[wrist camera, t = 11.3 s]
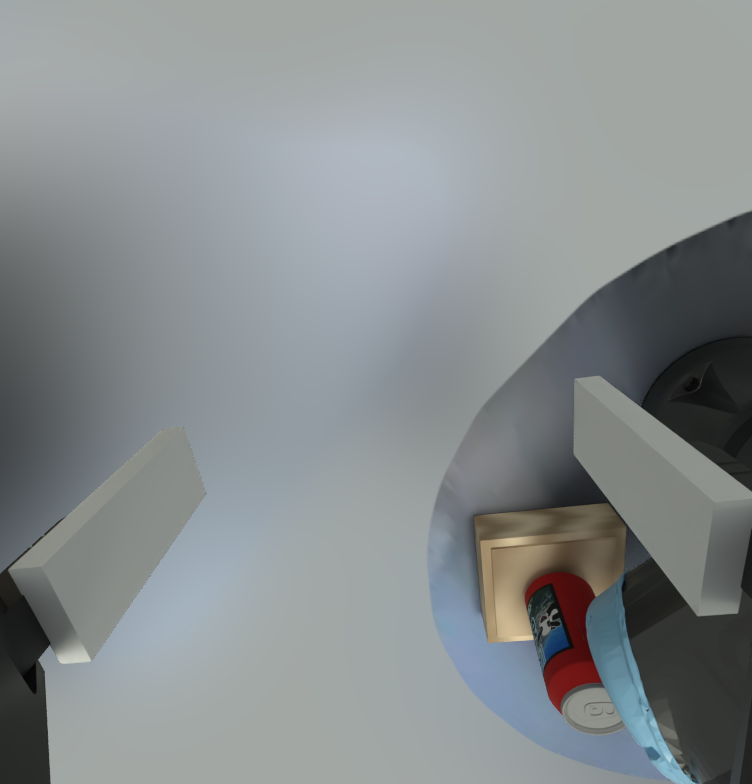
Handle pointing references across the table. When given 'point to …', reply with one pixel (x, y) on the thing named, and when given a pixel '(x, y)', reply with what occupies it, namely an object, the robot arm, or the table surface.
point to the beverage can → (569, 652)
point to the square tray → (542, 558)
